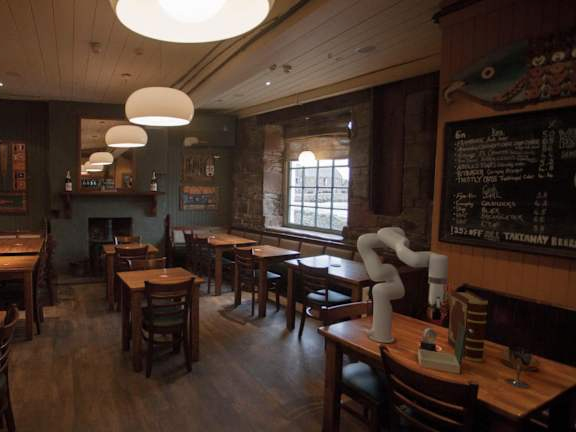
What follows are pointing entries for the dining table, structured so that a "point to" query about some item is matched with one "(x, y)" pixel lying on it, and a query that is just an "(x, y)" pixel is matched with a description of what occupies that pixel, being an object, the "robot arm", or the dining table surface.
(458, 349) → the book cover
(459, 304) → the decorative book
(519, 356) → the wine glass
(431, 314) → the paperweight
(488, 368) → the dining table surface
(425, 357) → the book
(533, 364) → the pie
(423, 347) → the grey black upright piece
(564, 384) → the dining table surface
